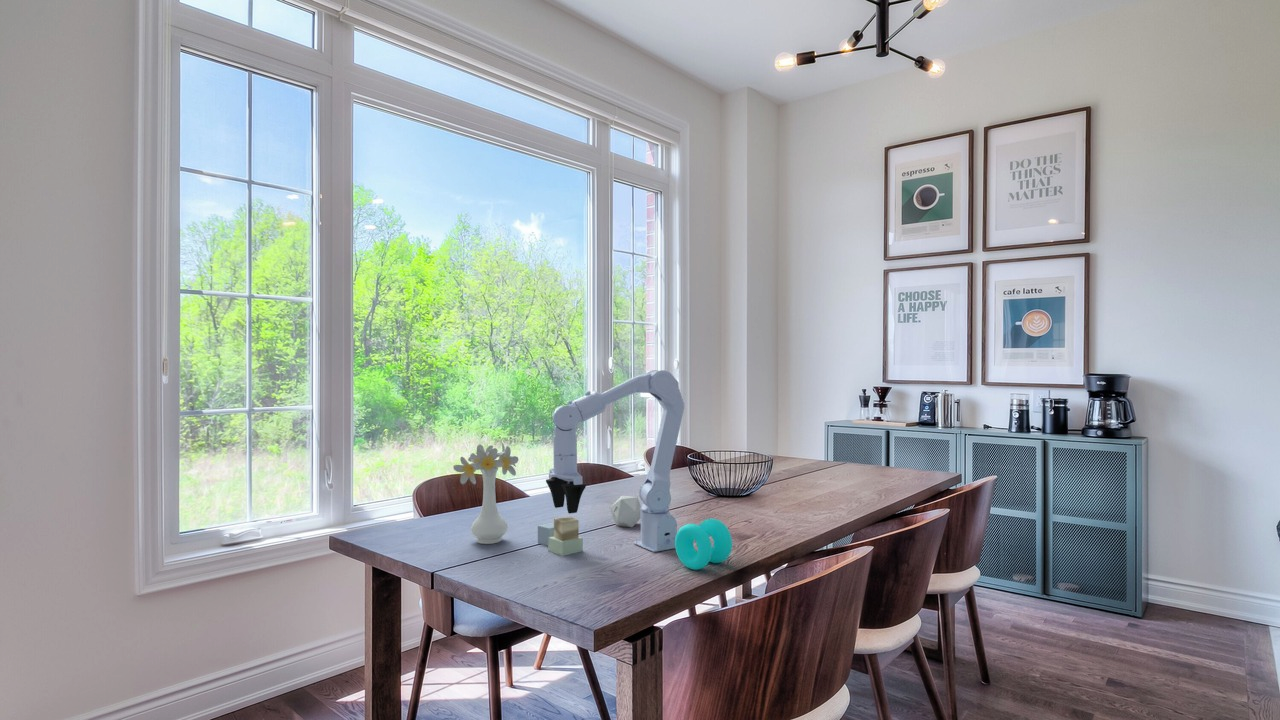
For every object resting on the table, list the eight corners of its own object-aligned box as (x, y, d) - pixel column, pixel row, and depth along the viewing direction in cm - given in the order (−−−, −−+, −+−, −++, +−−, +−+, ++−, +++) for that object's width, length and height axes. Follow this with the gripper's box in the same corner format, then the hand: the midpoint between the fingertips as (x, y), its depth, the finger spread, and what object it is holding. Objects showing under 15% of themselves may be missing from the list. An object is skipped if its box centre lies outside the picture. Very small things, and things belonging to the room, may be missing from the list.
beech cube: (578, 538, 163) (578, 519, 163) (561, 540, 161) (561, 522, 161) (570, 534, 167) (570, 516, 167) (553, 536, 164) (553, 518, 164)
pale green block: (582, 552, 163) (582, 537, 163) (562, 556, 159) (562, 542, 159) (568, 547, 168) (568, 533, 168) (548, 551, 164) (548, 537, 164)
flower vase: (447, 549, 165) (446, 448, 165) (485, 531, 183) (485, 440, 183) (493, 553, 161) (493, 450, 161) (528, 535, 179) (528, 441, 179)
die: (612, 523, 194) (601, 499, 189) (638, 506, 196) (627, 482, 191) (626, 540, 187) (614, 516, 182) (652, 522, 190) (641, 498, 184)
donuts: (734, 565, 151) (734, 521, 151) (705, 575, 144) (705, 529, 144) (701, 556, 158) (701, 514, 158) (672, 565, 151) (672, 521, 151)
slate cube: (562, 542, 171) (562, 525, 171) (549, 546, 168) (549, 528, 168) (551, 539, 174) (551, 522, 174) (537, 543, 171) (537, 525, 171)
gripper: (538, 452, 168) (538, 506, 168) (563, 459, 155) (563, 517, 155) (563, 450, 171) (564, 503, 171) (590, 456, 159) (590, 513, 159)
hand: (565, 510), depth 164 cm, fingers open, 7 cm apart
